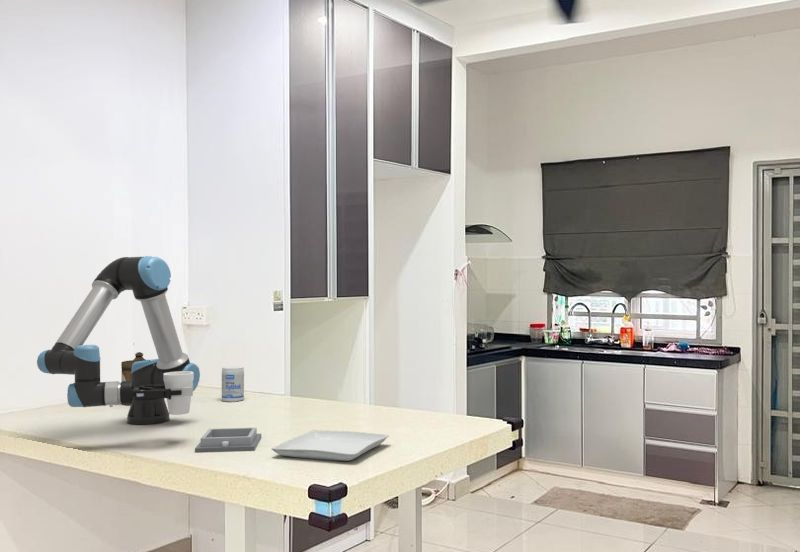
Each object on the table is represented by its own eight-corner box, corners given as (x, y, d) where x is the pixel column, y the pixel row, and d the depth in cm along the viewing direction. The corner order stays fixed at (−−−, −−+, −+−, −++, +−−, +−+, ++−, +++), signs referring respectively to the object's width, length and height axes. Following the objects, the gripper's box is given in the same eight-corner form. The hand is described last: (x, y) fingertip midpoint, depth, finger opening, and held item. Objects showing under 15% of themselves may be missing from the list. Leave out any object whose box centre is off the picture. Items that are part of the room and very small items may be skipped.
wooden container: (129, 400, 337) (129, 350, 337) (162, 400, 337) (162, 350, 337) (115, 405, 322) (115, 354, 322) (150, 405, 322) (149, 353, 322)
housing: (206, 438, 252) (206, 427, 252) (261, 437, 253) (261, 426, 253) (194, 452, 232) (194, 440, 232) (254, 450, 233) (254, 438, 233)
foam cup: (199, 410, 250) (198, 371, 250) (184, 416, 242) (183, 375, 241) (174, 409, 253) (173, 371, 253) (158, 415, 244) (157, 374, 244)
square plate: (313, 440, 249) (313, 428, 249) (390, 446, 239) (390, 433, 239) (270, 459, 223) (270, 446, 223) (354, 466, 213) (354, 452, 213)
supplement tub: (225, 403, 326) (225, 368, 326) (218, 400, 334) (218, 366, 334) (247, 400, 331) (246, 367, 331) (240, 398, 339) (239, 365, 339)
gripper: (124, 399, 254) (193, 395, 259) (116, 410, 232) (192, 406, 238) (123, 376, 253) (193, 373, 259) (116, 386, 232) (192, 382, 238)
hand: (192, 389), depth 248 cm, fingers closed on foam cup, 9 cm apart
